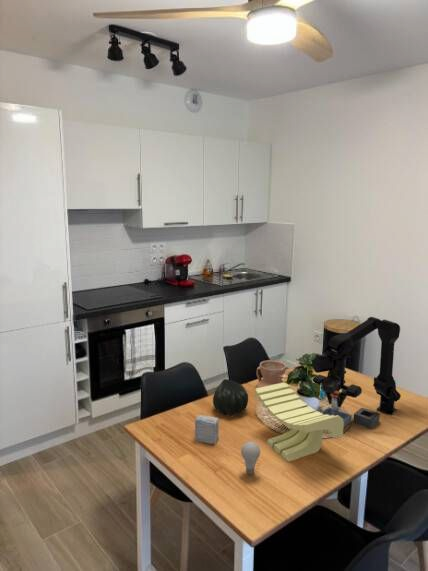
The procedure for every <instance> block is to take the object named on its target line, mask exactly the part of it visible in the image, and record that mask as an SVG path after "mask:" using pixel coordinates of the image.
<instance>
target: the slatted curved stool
mask: <svg viewBox="0 0 428 571" xmlns="http://www.w3.org/2000/svg"><path fill="white" fill-rule="evenodd" d="M254 391H255V392H254V394H255V395H254V396H255V397H257V398H258V402H260V403H261V404H262V407H263V408H265V409H267V414H268V413H269V414H270V415H271V416H272V417H274V419H276V420H277V421H278V422H280V423H282V424H283V425H284V426H285V427H286V428H288V429H289V431H287V432H285V433H283V434H281V435H278V436H275V437H271V438H268V439H267V441H266V444H267V445H269V447H271V448H273V450H274V451H275V452H276V453H277V454H279V455H281V457H282V458H283V459H284V460H286V462H291V461H295V460H297V459H300V458H303V457H307V456H309V455H312V454H317V452H318V451H320V449H321V448H322V443H323V436H324V434H325V433H328V434H329V435H330V436H331V437H332V438H337V437H340V436H343V435H344V428H343V427H344V421H343V419H342V418H341V417H340V416H338V415H337V416H334V415H331V416H329V415H327V414H326V415H324V414H322V413H321V412H320V411H319V410H316V409H314V408H313V407H311V406H309V405H308V403H306V402H304V400H301V397H300V396H299V395H298V394H297V393H296V392H295V390H293V388H292V387H291V385H289V384H288V383H286V382H285V383H279V384H274V385H270V386H265V387H260V388H257V387H256V388H254Z"/></svg>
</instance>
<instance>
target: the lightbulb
mask: <svg viewBox="0 0 428 571" xmlns="http://www.w3.org/2000/svg"><path fill="white" fill-rule="evenodd" d="M240 453H241V457H242V458H243V461H244V463H245V464H244V465H245V472H246V474H248V475H252V474H254V473H255V468H256V464H257V461H258V459H259V457H260V456H261V449H260V446H259V444H258V443H257V442H255V441H246V442H245V443H243V445H242V446H241V451H240Z"/></svg>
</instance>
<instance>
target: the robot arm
mask: <svg viewBox="0 0 428 571" xmlns="http://www.w3.org/2000/svg"><path fill="white" fill-rule="evenodd" d="M375 330H377V335H378V337H379V339H380V341H381V345H380V359H379V360H380V361H379V364H380V365H379V373H378V375H377V376H376V377H374V378H373V385H372V386H373V387H374V388H373V389H374V390H375V392H376V394H377V395H379V396H380V400H379V406H378V407H377V408H376V412H382V413H383V414H387V415H390V416H391V415H393V414H394V413H395V412H397V410H398V409H397V408H396V407H395V403H396V402H398V401H399V400H400V398H401V395H402V394H400V392H398V390H397V385H396V384H397V383H396V380H395V378H394V376H393V370H394V368H393V367H394V354H395V353H394V352H395V343H396V341H397V340H398V339H399V338H400V333H401V326H400V325H399V324H398V323H397V322H394V321H392V320H389V319H382V320H381V319H380V318H377V317H374V316H370V317H368V318H367V319H366V320H364V321H363V322H362V323H360V324H359V325H357V326H355V327H353V328H352V329H350V330H349V331H347V332H344V333H339V334H336V335H334V336H332V337H330V338H329V342H328V343H327V344H326V346H325V348H324V349H323V351H322V353H323V354H316V355H315V357H314V358H313V359H312V361H311V367H312V369H313V371H314V372H315V373H317V374H318V373H319V374H318V375H316V376H314V377H313V378H312V379H313V381H314V382H315V383H318V384H319V385H321V384H322V387H321V389H323V391H325V393H326V395H325V396H326V397H327V401H328V404H329V405H331V399H332V397H331V396H330V393H334V392H335V391H339V392H341V393H339V396H340V398H339V408H342V406H343V403H344V402H345V400H346V398H347V397H350V398H354V399H356V398H357V397H358V396H360V395H361V394H362V392H363V390H362V387H361V386H360V385H356V384H350V385H345V384H346V380H345V378H346V377H345V375H346V374H347V370H346V361H347V360H346V359H350V358H351V355H350V354H349V352H350V350H352V349H353V347H354V345H355V344H356V343H357V342H358V341H360V340H361V339H363V338H364V337H367V336H368V335H369V334H371V333H372V332H374V331H375ZM323 372H324V373H325V372H327V376H326V375H322V374H320V373H323ZM340 390H341V391H340Z"/></svg>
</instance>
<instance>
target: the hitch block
mask: <svg viewBox="0 0 428 571" xmlns="http://www.w3.org/2000/svg"><path fill="white" fill-rule="evenodd" d="M380 416H381V413H379V412H378V411H374V410H371V409H367V408H364V407H360V408H359V409H358V410H356V411H355V412H354V413H353V416H352V418H353V420H352V421H353V422H352V424H355V425H357V426H361V427H363V428H367V429H368V430H373V429H374V428H375V427H376V426H378V424H380Z"/></svg>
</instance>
